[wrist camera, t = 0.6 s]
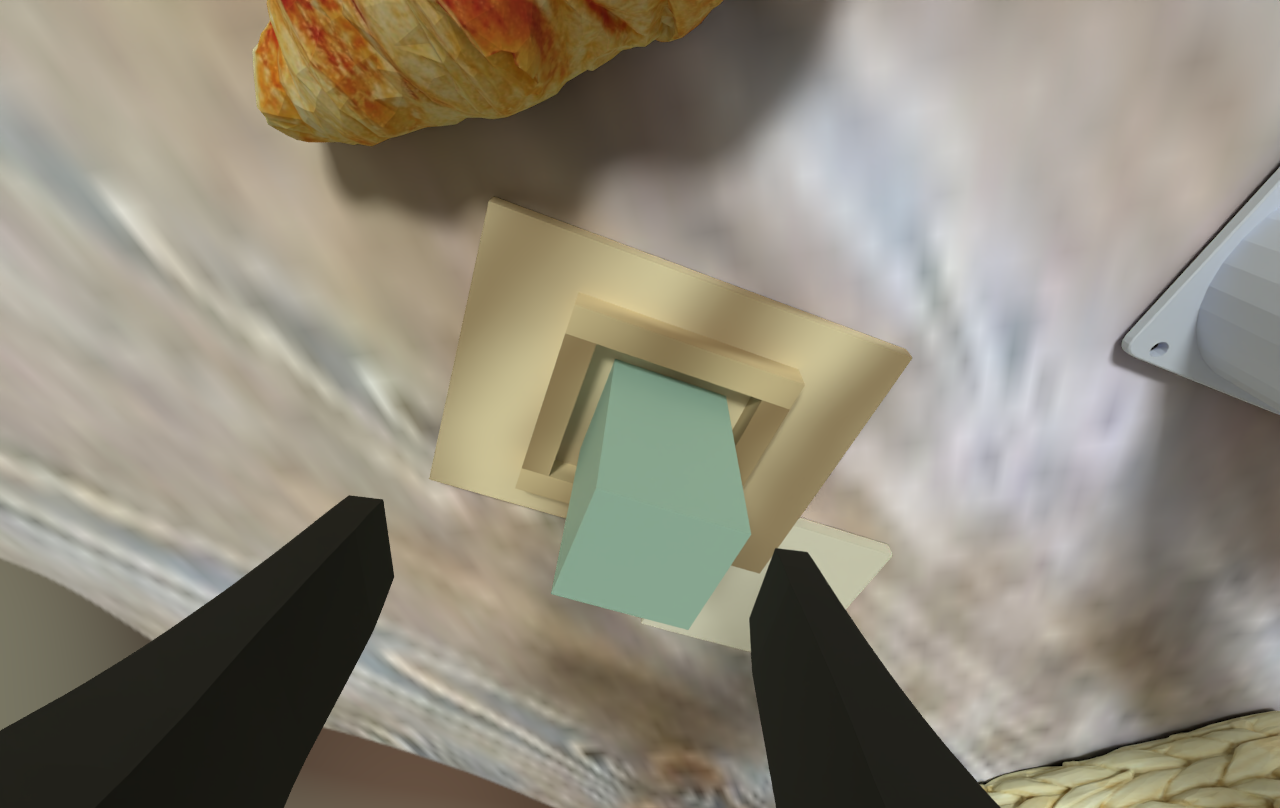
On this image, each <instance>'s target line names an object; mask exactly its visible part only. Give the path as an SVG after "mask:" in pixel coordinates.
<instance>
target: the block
mask: <svg viewBox="0 0 1280 808" xmlns="http://www.w3.org/2000/svg"><path fill="white" fill-rule="evenodd" d="M750 536H751V530H750V525H749V519H748V514H747V508H746V503H745V497H744V492H743V486H742V481H741V475H740V470H739V465H738V459H737V454H736V448H735V443H734V437H733V432H732V426H731V421H730V415H729V410H728V404H727V399H726V396H724V395H721V394H718V393H715V392H712V391H709V390H706V389H704V388H701V387H698V386H695V385H692V384H689V383H686V382H683V381H680V380H677V379H674V378H671V377H668V376H665V375H662V374H659V373H656V372H653V371H650V370H647V369H644V368H641V367H638V366H635V365H632V364H629V363H626V362H623V361H620V360H617V359H615V361H614V363H613V366H612V368H611V371H610V373H609V376H608V379H607V381H606V384H605V386H604V389H603V392H602V394H601V397H600V399H599V402H598V404H597V407H596V410H595V412H594V415H593V417H592V420H591V423H590V425H589V428H588V430H587V433H586V435H585V438H584V441H583V443H582V446H581V448H580V452H579V457H578V462H577V467H576V472H575V477H574V482H573V487H572V492H571V497H570V502H569V507H568V512H567V517H566V522H565V527H564V532H563V537H562V542H561V547H560V552H559V557H558V562H557V567H556V572H555V577H554V582H553V587H552V592H551V594H553V595H557V596H561V597H564V598H568V599H572V600H576V601H580V602H583V603H587V604H591V605H595V606H599V607H602V608H606V609H610V610H614V611H618V612H621V613H625V614H629V615H633V616H637V617H640V618H644V619H648V620H652V621H656V622H659V623H663V624H667V625H671V626H675V627H678V628H682V629H686V630H689V628H690V627H691V625H692V624H693V622H694V621H695V619H696V618H697V616H698V615H699V613H700V612H701V610H702V608H703V607H704V605H705V604H706V602H707V601H708V599H709V598H710V596H711V595H712V593H713V592H714V590H715V589H716V587H717V586H718V584H719V583H720V581H721V580H722V578H723V577H724V575H725V574H726V572H727V571H728V569H729V568H730V566H731V565H732V563H733V561H734V560H735V558H736V557H737V555H738V554H739V552H740V551H741V549H742V548H743V546H744V545H745V543H746V542H747V540H748V539H749V537H750Z"/></svg>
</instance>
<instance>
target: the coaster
mask: <svg viewBox="0 0 1280 808" xmlns="http://www.w3.org/2000/svg"><path fill="white" fill-rule="evenodd" d="M778 548H780V549H788V550H796V551H804V552H808V553H809V555H810V556H811V557H812V559H813V560H814V562H815V563H816V565H817V567H818V568H819V570H820V571H821V573H822V574H823V576H824V577H825V579H826V581H827V582H828V584H829V585H830V587H831V588H832V590H833V591H834V593H835V594H836V596H837V598H838V599H839V601H840V602H841V604H842V605H843V607H844V608H845V610H846V609H847V607H848V606H849V605H850V604H851V603H852V602H853V600H854V599H855V598H856V597H857V596H858V595H859V594H860V592H861V591H862V590H863V589H864V588H865V587H866V586H867V584H868V583H869V582H870V581H871V580H872V579H873V578H874V576H875V575H876V574H877V573H878V572H879V571H880V570H881V568H882V567H883V566H884V565H885V564H886V563H887V562H888V560H889V559H890V558H891V557H892V556H893V555H892V553H891V551H890V549H889V546H888V545H887V544H884V543H881V542H877V541H874V540H871V539H868V538H864V537H861V536H858V535H855V534H851V533H848V532H845V531H842V530H838V529H835V528H832V527H829V526H825V525H822V524H819V523H816V522H812V521H809V520H806V519H802V518H799V519H798V520H797V522H796V523H795V525H794V526H793V527H792V529H791V530H790V532H789V533H788V534H787V536H786V537H785V539H784V540H783V542H782V543H781V544H780V546H779V547H778ZM771 558H772V557H771ZM770 561H771V559H770V560H769V561H768V563H767V564H766V566H765V567H764V568H763V570H762V571H761V573H760V574H759V573H755V572H752V571H748V570H745V569H741V568H738V567H734V566H730V568H729V569H728V571H727V572H726V574H725V575H724V577H723V578H722V580H721V581H720V583H719V584H718V586H717V587H716V589H715V590H714V592H713V593H712V595H711V596H710V598H709V599H708V601H707V602H706V604H705V605H704V607H703V608H702V610H701V612H700V613H699V615H698V616H697V618H696V619H695V621H694V622H693V624H692V625H691V627H690V628H689V630H686V629H682V628H678V627H675V626H671V625H667V624H663V623H659V622H656V621H652V620H648V619H644V618H641V624H645V625H649V626H653V627H657V628H660V629H664V630H668V631H672V632H676V633H680V634H683V635H687V636H691V637H695V638H699V639H703V640H706V641H710V642H714V643H718V644H722V645H725V646H729V647H733V648H737V649H741V650H745V651H748V652H751V644H750V625H749V617H750V615H751V612H752V609H753V607H754V604H755V601H756V599H757V596H758V593H759V591H760V588H761V585H762V582H763V580H764V577H765V574H766V572H767V569H768V566H769V564H770Z"/></svg>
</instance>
